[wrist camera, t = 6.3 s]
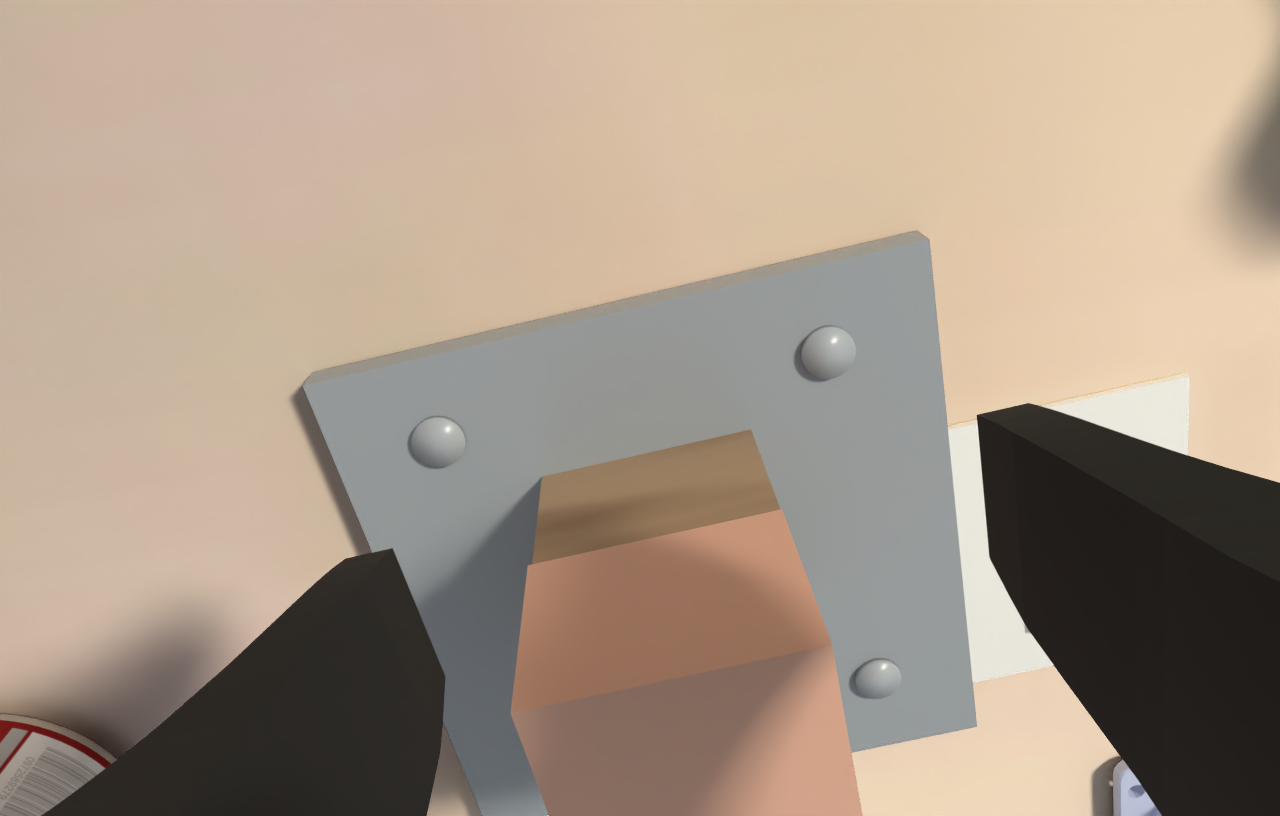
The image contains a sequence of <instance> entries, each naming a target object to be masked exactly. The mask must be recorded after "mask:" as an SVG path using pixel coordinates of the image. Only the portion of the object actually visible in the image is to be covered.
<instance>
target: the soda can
mask: <svg viewBox="0 0 1280 816" xmlns="http://www.w3.org/2000/svg"><path fill="white" fill-rule="evenodd" d="M116 760H117V759H116V758H115V757H114V756H113V755H111V754H110V753H109V752H108V751H106V750H105V749H104V748H102V747H101V746H99V745H98V744H96V743H95V742H93V741H91V740H90V739H88V738H86V737H84V736H82V735H80V734H78V733H76V732H74V731H72V730H70V729H67V728H64V727H62V726H59V725H56V724H53V723H50V722H47V721H43V720H39V719H35V718H30V717H24V716H18V715H8V714H0V816H41V815H43V814H44V813H46V812H47V811H49V810H50V809H51V808H53V807H54V806H56V805H57V804H58V803H60V802H61V801H63V800H64V799H65V798H67V797H68V796H70V795H71V794H72V793H74V792H75V791H76V790H78V789H79V788H80V787H82V786H83V785H84V784H86V783H87V782H88V781H90V780H91V779H92V778H94V777H95V776H96V775H97V774H99V773H100V772H101V771H103V770H104V769H105V768H107V767H108V766H109V765H111V764H112V763H113V762H115V761H116Z"/></svg>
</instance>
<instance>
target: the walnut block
mask: <svg viewBox="0 0 1280 816" xmlns="http://www.w3.org/2000/svg"><path fill="white" fill-rule="evenodd" d="M776 510H780V507H779V504H778V501H777V499H776V496H775V493H774V490H773V488H772V485H771V482H770V480H769V477H768V474H767V471H766V469H765V466H764V463H763V460H762V458H761V455H760V452H759V450H758V447H757V444H756V441H755V439H754V436H753V433H752V431H751V430H746V431H742V432H738V433H733V434H729V435H724V436H720V437H715V438H711V439H707V440H702V441H698V442H693V443H689V444H684V445H680V446H676V447H671V448H667V449H662V450H658V451H653V452H649V453H645V454H640V455H636V456H631V457H627V458H622V459H618V460H614V461H609V462H605V463H600V464H596V465H591V466H587V467H583V468H578V469H574V470H569V471H565V472H560V473H556V474H552V475H547V476H543V477H542V481H541V490H540V499H539V508H538V517H537V526H536V535H535V544H534V553H533V562H532V564H536V563H541V562H545V561H550V560H554V559H559V558H563V557H568V556H572V555H577V554H581V553H586V552H590V551H595V550H600V549H604V548H609V547H613V546H618V545H622V544H627V543H631V542H636V541H640V540H645V539H649V538H654V537H658V536H663V535H667V534H672V533H676V532H681V531H685V530H690V529H695V528H699V527H704V526H708V525H713V524H717V523H722V522H726V521H731V520H735V519H740V518H744V517H749V516H753V515H758V514H762V513H767V512H771V511H776Z"/></svg>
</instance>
